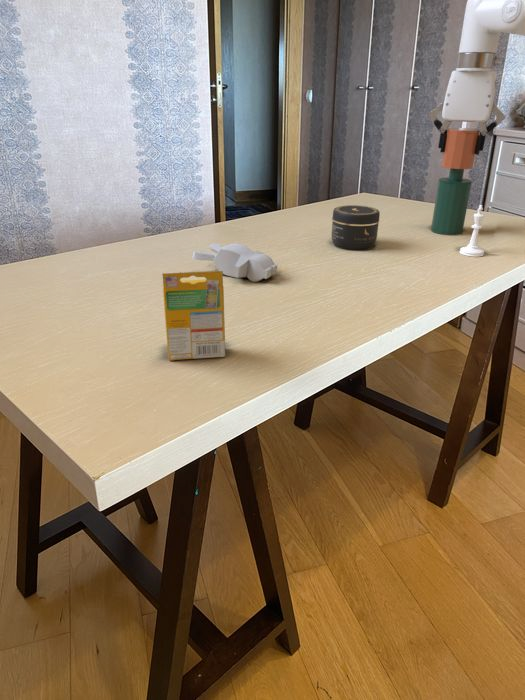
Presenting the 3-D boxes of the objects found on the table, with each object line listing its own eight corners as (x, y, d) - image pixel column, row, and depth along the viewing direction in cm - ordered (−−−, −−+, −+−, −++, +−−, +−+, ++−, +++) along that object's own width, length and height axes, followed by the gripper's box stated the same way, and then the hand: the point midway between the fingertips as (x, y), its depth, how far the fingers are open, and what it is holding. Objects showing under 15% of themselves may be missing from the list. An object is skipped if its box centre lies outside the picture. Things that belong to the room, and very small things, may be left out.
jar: (346, 253, 110) (349, 216, 107) (322, 241, 118) (324, 206, 115) (385, 248, 114) (389, 212, 111) (359, 237, 122) (362, 203, 119)
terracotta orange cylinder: (474, 166, 123) (481, 128, 119) (471, 170, 117) (478, 131, 114) (443, 163, 125) (449, 127, 122) (439, 167, 120) (446, 129, 116)
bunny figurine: (260, 266, 89) (188, 243, 94) (257, 294, 91) (186, 269, 97) (286, 252, 96) (217, 231, 102) (282, 278, 99) (215, 256, 104)
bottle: (463, 229, 130) (476, 161, 122) (460, 236, 124) (473, 164, 116) (433, 226, 132) (444, 158, 125) (428, 233, 126) (440, 162, 119)
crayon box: (223, 347, 71) (221, 263, 65) (225, 357, 68) (224, 271, 63) (168, 350, 70) (161, 265, 64) (168, 361, 67) (161, 273, 62)
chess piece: (487, 253, 112) (497, 205, 107) (478, 258, 108) (488, 208, 104) (465, 248, 115) (474, 201, 110) (455, 253, 111) (464, 205, 107)
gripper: (520, 64, 112) (501, 153, 120) (435, 63, 118) (423, 148, 126) (519, 63, 106) (499, 157, 114) (430, 62, 112) (417, 152, 120)
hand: (459, 152), depth 120 cm, fingers closed on terracotta orange cylinder, 6 cm apart
